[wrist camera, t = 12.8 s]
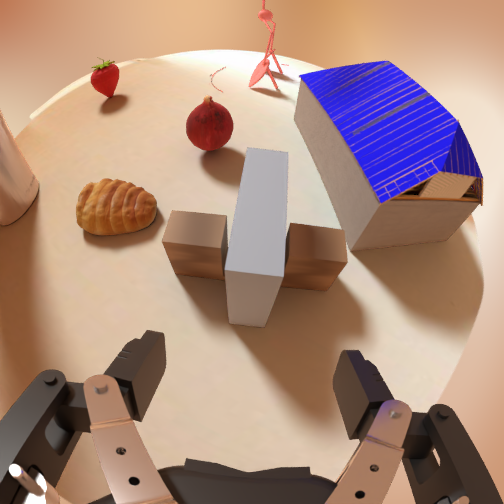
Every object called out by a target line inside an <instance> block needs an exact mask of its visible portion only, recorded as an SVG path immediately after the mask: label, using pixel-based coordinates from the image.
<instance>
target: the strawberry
mask: <svg viewBox="0 0 504 504" xmlns="http://www.w3.org/2000/svg"><path fill="white" fill-rule="evenodd" d="M111 63H114V61H113V62H109V61H107V62H103V64H102V65H97V66H94V67H92V68H96V69H95V70H94V71H93V74H92V76H91V84H92V85H93V87H94V88H95V90H97V91H98V92H100V93H102V94H104V95H106V96H107V97H112V96H113V94H114V91H115V89H116V86H117V83H118V80H119V69H118V67H117V66H116V65H115V64H111Z"/></svg>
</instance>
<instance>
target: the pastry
mask: <svg viewBox="0 0 504 504" xmlns="http://www.w3.org/2000/svg"><path fill="white" fill-rule="evenodd" d="M156 207H157V202H156V199H155V198H154V196H153V195H152V194H150V193H148V192H146V191H145V190H144V189H143V188H142V187H136V186H135V185H134V184H132V183H126V182H125V181H121V180H118V179H116V180H114V181H113V180H111V179H102V180H101V181H100V182H99V183H92V182H91V183H89V184H87V185H86V186H85V187H84V188H83V190H82V191H81V193H80V195H79V197H78V203H77V206H76V216H77V223H78V225H79V226H80V227H81V228H83V229H84V230H86V231H88V232H89V233H92V234H96V235H100V236H103V235H117V234H123V233H130V232H136V231H138V230H140V229H143V228H145V227H148V226H149V225H150V224H151V223H152V222H153V220H154V218H155V216H156Z"/></svg>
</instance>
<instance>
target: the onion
mask: <svg viewBox="0 0 504 504" xmlns="http://www.w3.org/2000/svg"><path fill="white" fill-rule="evenodd" d="M232 131H233V121H232V117H231V115H230V113H229V111H228V110H227V109H226V108H225V107H223V106H222V105H220V104H218V103H216V102H214V101H213V100H212V97H211V96H206V97H205V98H204V102H203V103H202V104H201V105H199V106H197V107H196V108H195V109H194V110H193V111H192V112H191V114H190V115H189V117H188V119H187V123H186V133H187V136H188V138H189V139H190V141H191V142H192V143H193V144H194V145H195V146H196V147H198V148H200V149H202V150H207V151H211V150H216V149H219V148H221V147H222V146H223V145H225V144H226V143H227V142H228V141H229V139H230V138H231V135H232Z"/></svg>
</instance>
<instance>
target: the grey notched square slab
mask: <svg viewBox="0 0 504 504" xmlns="http://www.w3.org/2000/svg"><path fill="white" fill-rule="evenodd" d="M287 188H288V152H282V151H274V150H266V149H258V148H248V147H247V152H246V157H245V162H244V167H243V172H242V177H241V183H240V188H239V193H238V198H237V204H236V209H235V214H234V220H233V225H232V231H231V236H230V242H229V248H228V253H227V259H226V265H225V282H226V295H227V307H228V319H229V323H230V324H238V325H246V326H254V327H265V325H266V322H267V320H268V317H269V314H270V312H271V309H272V307H273V304H274V301H275V299H276V296H277V294H278V291H279V288H280V286H281V283H282V280H283V277H284V263H285V243H286V219H287Z"/></svg>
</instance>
